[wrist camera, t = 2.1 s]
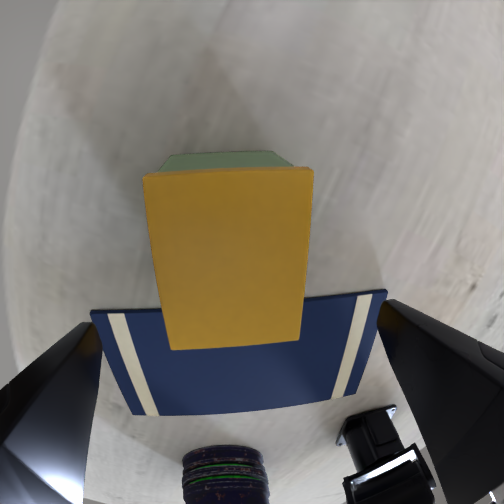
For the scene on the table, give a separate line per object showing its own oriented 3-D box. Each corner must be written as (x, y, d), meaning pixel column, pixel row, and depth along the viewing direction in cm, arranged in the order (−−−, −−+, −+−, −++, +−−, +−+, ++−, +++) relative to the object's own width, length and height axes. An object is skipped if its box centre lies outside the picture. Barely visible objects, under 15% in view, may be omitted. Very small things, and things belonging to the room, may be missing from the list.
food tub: (273, 272, 19) (299, 340, 13) (179, 278, 18) (170, 350, 13) (276, 147, 16) (314, 170, 10) (166, 151, 15) (141, 177, 9)
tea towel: (354, 391, 26) (355, 394, 26) (133, 411, 24) (132, 415, 24) (385, 288, 21) (388, 291, 21) (90, 310, 19) (89, 313, 18)
